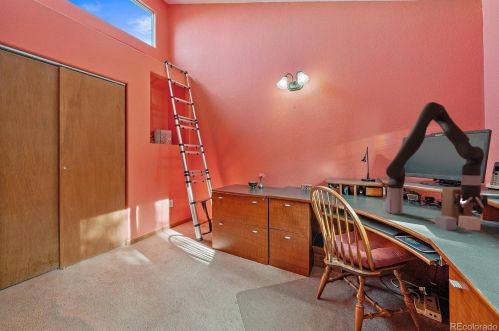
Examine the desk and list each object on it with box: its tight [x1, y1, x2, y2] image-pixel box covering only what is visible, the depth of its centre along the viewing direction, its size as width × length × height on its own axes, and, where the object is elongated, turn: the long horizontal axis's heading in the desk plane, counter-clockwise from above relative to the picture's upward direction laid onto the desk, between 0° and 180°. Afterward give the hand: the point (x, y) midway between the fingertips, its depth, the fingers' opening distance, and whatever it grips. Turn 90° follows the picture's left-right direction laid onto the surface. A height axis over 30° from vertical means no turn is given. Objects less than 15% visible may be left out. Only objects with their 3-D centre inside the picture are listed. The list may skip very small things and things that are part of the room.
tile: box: [424, 218, 435, 224], centre depth 131 cm, size 8×8×1 cm
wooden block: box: [441, 186, 473, 225], centre depth 130 cm, size 10×10×20 cm
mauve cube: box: [434, 214, 457, 231], centre depth 119 cm, size 6×6×6 cm
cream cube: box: [457, 215, 482, 231], centre depth 119 cm, size 6×6×6 cm
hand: (470, 214), depth 118 cm, fingers open, 8 cm apart
